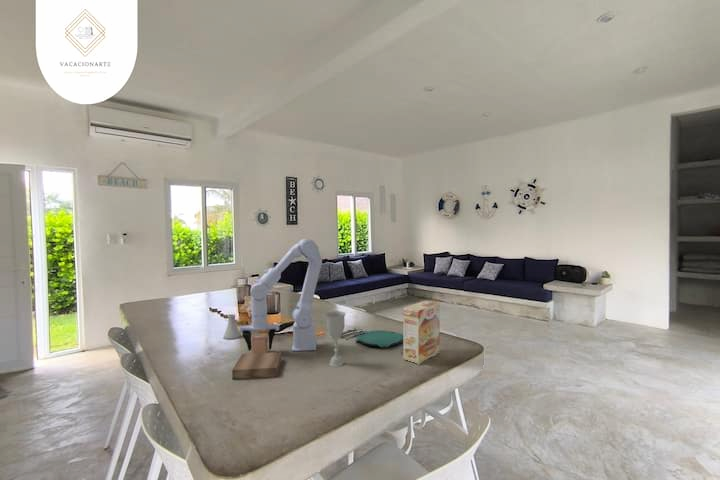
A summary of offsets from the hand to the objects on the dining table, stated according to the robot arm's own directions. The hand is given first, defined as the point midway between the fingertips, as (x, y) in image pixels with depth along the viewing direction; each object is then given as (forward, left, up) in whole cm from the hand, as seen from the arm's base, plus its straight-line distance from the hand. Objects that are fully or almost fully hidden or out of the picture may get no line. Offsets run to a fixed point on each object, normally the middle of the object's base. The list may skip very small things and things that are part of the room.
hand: (260, 349), depth 134 cm
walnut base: (-2, +15, -2) cm, 15 cm away
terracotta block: (0, 0, -2) cm, 2 cm away
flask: (+16, -22, -2) cm, 27 cm away
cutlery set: (-45, -11, -2) cm, 47 cm away
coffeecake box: (-61, +12, -2) cm, 62 cm away
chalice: (-29, +14, -2) cm, 32 cm away
